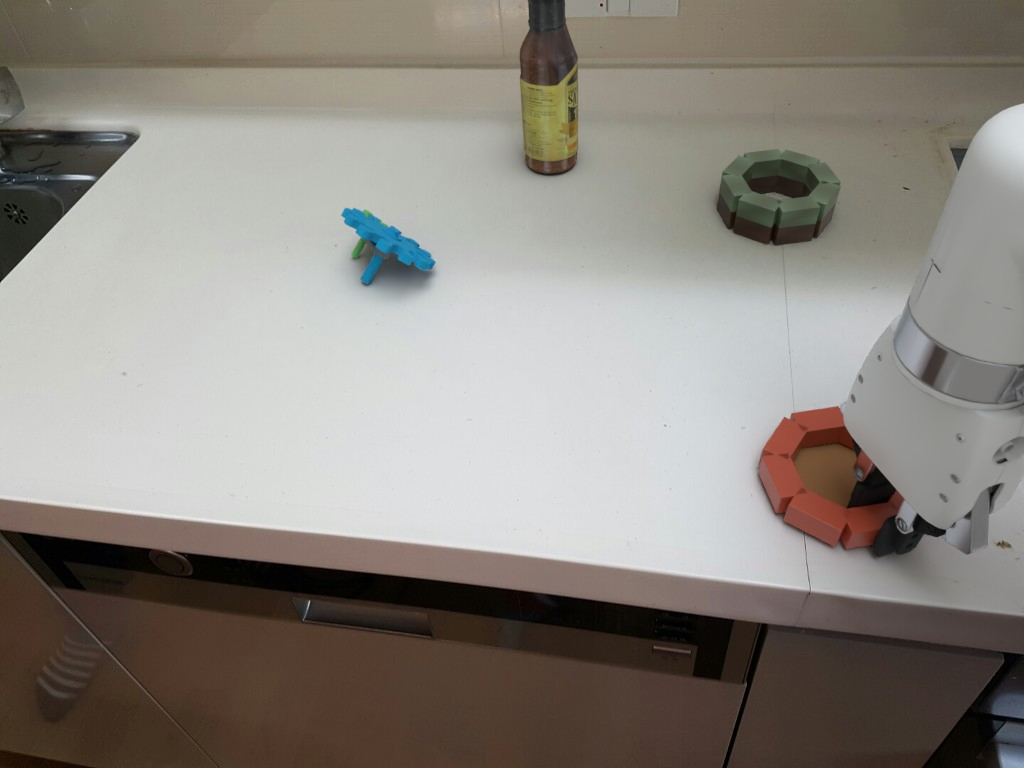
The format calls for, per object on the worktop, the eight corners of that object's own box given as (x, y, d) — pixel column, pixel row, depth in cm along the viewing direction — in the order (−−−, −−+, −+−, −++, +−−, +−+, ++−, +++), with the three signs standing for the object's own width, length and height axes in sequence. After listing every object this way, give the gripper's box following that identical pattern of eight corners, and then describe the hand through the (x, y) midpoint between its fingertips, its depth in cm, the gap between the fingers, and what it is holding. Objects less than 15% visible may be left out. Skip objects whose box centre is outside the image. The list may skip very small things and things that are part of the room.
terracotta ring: (876, 416, 62) (884, 399, 61) (948, 533, 55) (958, 517, 53) (741, 436, 62) (745, 419, 60) (795, 557, 54) (801, 541, 53)
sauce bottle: (581, 174, 89) (583, -9, 75) (526, 179, 89) (517, -4, 75) (574, 144, 94) (574, -34, 79) (522, 149, 94) (512, -29, 79)
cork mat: (860, 441, 61) (861, 438, 61) (902, 515, 56) (904, 513, 56) (772, 454, 61) (773, 451, 61) (808, 530, 56) (809, 528, 56)
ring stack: (803, 177, 86) (811, 144, 83) (846, 236, 79) (856, 202, 76) (706, 189, 86) (710, 157, 83) (739, 250, 78) (746, 216, 75)
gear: (454, 270, 76) (368, 229, 69) (422, 321, 77) (335, 285, 71) (412, 226, 84) (332, 185, 77) (385, 273, 85) (303, 237, 79)
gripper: (1160, 426, 37) (1007, 611, 51) (929, 240, 48) (852, 433, 61) (1031, 474, 36) (908, 651, 49) (822, 271, 47) (768, 462, 60)
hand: (878, 529), depth 55 cm, fingers closed on terracotta ring, 2 cm apart
